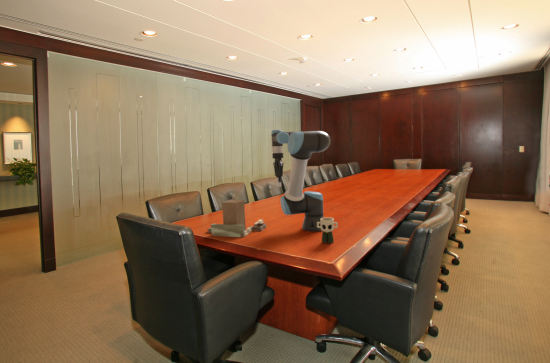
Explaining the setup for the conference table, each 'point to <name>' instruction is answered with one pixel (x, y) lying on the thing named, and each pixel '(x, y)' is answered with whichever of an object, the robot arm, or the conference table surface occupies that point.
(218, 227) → the tray
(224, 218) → the wooden block
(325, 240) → the character mug
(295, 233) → the conference table surface
